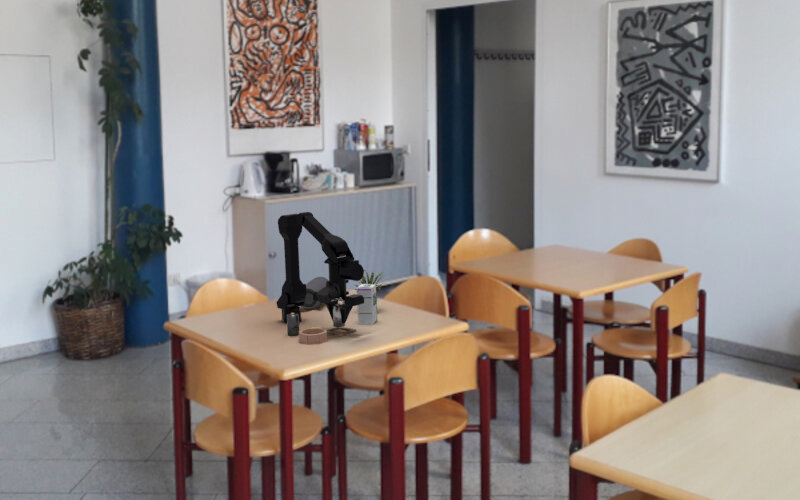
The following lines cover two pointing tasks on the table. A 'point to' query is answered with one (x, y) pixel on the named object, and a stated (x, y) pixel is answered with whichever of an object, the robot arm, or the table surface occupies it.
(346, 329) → the brown wooden tray
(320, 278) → the bluetooth speaker
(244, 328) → the table surface
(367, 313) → the syrup box
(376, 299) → the house plant
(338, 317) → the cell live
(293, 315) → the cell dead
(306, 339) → the pot
